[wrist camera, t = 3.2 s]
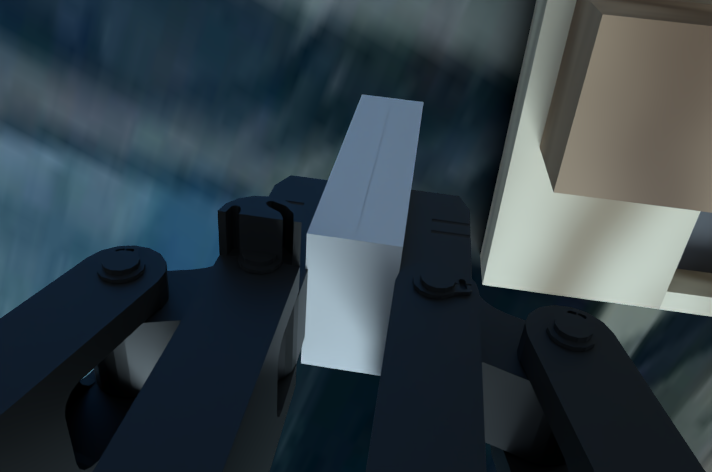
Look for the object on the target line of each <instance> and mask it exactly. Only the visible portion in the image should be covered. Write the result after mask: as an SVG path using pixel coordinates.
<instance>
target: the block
mask: <svg viewBox="0 0 712 472" xmlns="http://www.w3.org/2000/svg"><path fill="white" fill-rule="evenodd" d="M540 151H541V154H542V157H543V160H544V163H545V167H546V170H547V173H548V176H549V179H550V183H551V186H552V189H553V192H554V193H562V194H570V195H577V196H585V197H593V198H601V199H609V200H616V201H624V202H632V203H640V204H648V205H655V206H663V207H671V208H679V209H687V210H695V211H702V212H710V213H712V4H702V3H693V2H683V1H674V0H577V1H576V5H575V9H574V13H573V17H572V21H571V25H570V29H569V33H568V37H567V41H566V44H565V48H564V52H563V56H562V60H561V64H560V68H559V72H558V76H557V80H556V84H555V88H554V92H553V96H552V100H551V104H550V108H549V112H548V116H547V120H546V124H545V128H544V132H543V136H542V140H541V144H540Z"/></svg>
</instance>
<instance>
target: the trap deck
mask: <svg viewBox="0 0 712 472" xmlns="http://www.w3.org/2000/svg"><path fill="white" fill-rule="evenodd" d="M576 1H577V0H536V4H535V9H534V13H533V18H532V22H531V27H530V31H529V36H528V40H527V45H526V50H525V54H524V59H523V63H522V68H521V72H520V77H519V81H518V86H517V90H516V95H515V100H514V104H513V109H512V113H511V118H510V122H509V127H508V131H507V136H506V140H505V145H504V150H503V154H502V159H501V163H500V168H499V172H498V177H497V181H496V186H495V190H494V195H493V199H492V204H491V209H490V213H489V218H488V222H487V227H486V231H485V236H484V240H483V245H482V249H481V254H480V260H481V273H482V285H489V286H496V287H503V288H510V289H517V290H525V291H532V292H539V293H546V294H553V295H561V296H568V297H575V298H582V299H589V300H597V301H604V302H611V303H618V304H625V305H633V306H640V307H647V308H654V309H661V310H669V311H676V312H683V313H690V314H697V315H705V316H712V213H710V212H702V211H695V210H687V209H679V208H671V207H663V206H655V205H648V204H640V203H632V202H624V201H616V200H609V199H601V198H593V197H585V196H577V195H570V194H562V193H554V192H553V189H552V186H551V183H550V179H549V176H548V173H547V170H546V167H545V163H544V160H543V157H542V154H541V151H540V144H541V140H542V136H543V132H544V128H545V124H546V120H547V116H548V112H549V108H550V104H551V100H552V96H553V92H554V88H555V84H556V80H557V76H558V72H559V68H560V64H561V60H562V56H563V52H564V48H565V44H566V41H567V37H568V33H569V29H570V25H571V21H572V17H573V13H574V9H575V5H576ZM674 1H683V2H693V3H702V4H712V0H674Z"/></svg>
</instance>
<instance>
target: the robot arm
mask: <svg viewBox="0 0 712 472" xmlns="http://www.w3.org/2000/svg"><path fill="white" fill-rule="evenodd" d="M422 109H423V102H418V101H410V100H402V99H394V98H385V97H377V96H369V95H362V96H361V99H360V101H359V104H358V106H357V109H356V111H355V114H354V116H353V119H352V121H351V124H350V126H349V129H348V131H347V134H346V136H345V139H344V141H343V144H342V146H341V149H340V151H339V154H338V156H337V159H336V161H335V164H334V166H333V169H332V171H331V174H330V177H329V179H328V180H321V179H314V178H307V177H299V176H292V175H291V176H289V177H287V178H286V179H284V180H283V181H281V182H279V183H278V184H276V185H275V186H274V188H273V190H272V192H271V193H270V195H269V197H266V196H251V197H245V198H239V199H236V200H234V201H231V202H229V203H226V204H225V205H224V206H223V207H222V208H220V209H219V210H218V228H219V250H220V255H219V257H218V259H217V261H216V262H215V264H214V266H211V267H208V268H202V269H194V270H178V271H167V265H166V261H165V260H164V258H163V257H162V255H161V254H160V253H158V252H156V251H154V250H152V249H150V248H145V247H139V246H117V247H113V248H109V249H105V250H101V251H99V252H97V253H95V254H93V255H91V256H89V257H88V258H86V259H85V260H83V261H82V262H80V263H79V264H77V265H76V266H75V267H73V268H72V269H70V270H69V271H67V272H66V273H65V274H63V275H62V276H60V277H59V278H57V279H56V280H55V281H53V282H52V283H50V284H49V285H48V286H46V287H45V288H43V289H42V290H40V291H39V292H38V293H36V294H35V295H33V296H32V297H30V298H29V299H28V300H26V301H25V302H23V303H22V304H20V305H19V306H18V307H16V308H15V309H13V310H12V311H10V312H9V313H8V314H6V315H5V316H3V317H2V318H0V472H269V471H270V468H271V464H272V461H273V458H274V454H275V451H276V448H277V444H278V441H279V438H280V434H281V431H282V428H283V425H284V421H285V418H286V415H287V411H288V408H289V405H290V401H291V398H292V395H293V391H294V388H295V383H296V363H297V360H298V356H299V353H300V350H301V347H302V356H301V363H303V364H309V365H316V366H322V367H328V368H335V369H341V370H347V371H354V372H360V373H366V374H372V375H379V376H380V383H379V389H378V396H377V402H376V409H375V415H374V422H373V428H372V435H371V441H370V448H369V454H368V461H367V467H366V472H486V451H485V442H486V443H489V444H491V452H492V457H493V460H494V463H495V466H496V469H497V472H705V470H704V469H703V467H702V466H701V464H700V463H699V461H698V460H697V458H696V457H695V455H694V454H693V452H692V451H691V449H690V448H689V446H688V445H687V443H686V442H685V440H684V439H683V437H682V436H681V434H680V433H679V431H678V430H677V428H676V427H675V425H674V424H673V422H672V421H671V419H670V418H669V416H668V415H667V413H666V412H665V410H664V409H663V407H662V406H661V404H660V403H659V401H658V400H657V398H656V396H655V395H654V393H653V392H652V390H651V389H650V387H649V386H648V384H647V383H646V381H645V380H644V378H643V377H642V375H641V374H640V372H639V371H638V369H637V368H636V366H635V365H634V363H633V362H632V360H631V359H630V357H629V356H628V354H627V353H626V351H625V350H624V348H623V347H622V345H621V344H620V342H619V341H618V339H617V338H616V336H615V335H614V333H613V332H612V331H611V330H610V329H609V328H608V327H607V326H606V325H605V324H604V323H603V322H602V321H600V320H598V319H597V318H595V317H593V316H592V315H590V314H589V313H586V312H583V311H581V310H577V309H574V308H572V307H564V306H556V305H553V306H546V307H540V308H538V309H536V310H535V311H533V312H531V313H530V314H529V316H528V318H527V320H526V321H525V320H522V319H519V318H517V317H514V316H511V315H508V314H506V313H504V312H502V311H499V310H497V309H495V308H494V307H492V306H491V305H489V304H488V303H486V302H485V301H484V300H483V299H482V298H481V297H480V296H479V291H478V288H477V285H476V283H475V282H474V281H473V280H472V272H471V239H470V210H469V208H468V207H467V206H466V205H465V203H464V202H463V201H462V199H461V198H460V197H459V196H453V195H446V194H438V193H431V192H424V191H416V190H411V186H412V179H413V172H414V165H415V158H416V151H417V144H418V137H419V130H420V123H421V116H422ZM93 368H94V370H93V371H92V372H91V373H90V374H89V375H88V376H86V375H87V374H88V373H89V372H90V371H91V370H92V369H93ZM84 376H86V377H85V378H83V377H84ZM82 378H83V379H82ZM81 379H82V380H81Z"/></svg>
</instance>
